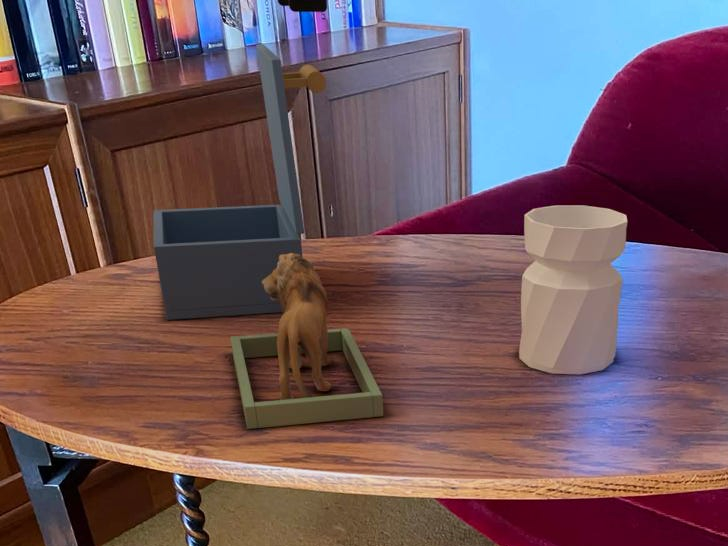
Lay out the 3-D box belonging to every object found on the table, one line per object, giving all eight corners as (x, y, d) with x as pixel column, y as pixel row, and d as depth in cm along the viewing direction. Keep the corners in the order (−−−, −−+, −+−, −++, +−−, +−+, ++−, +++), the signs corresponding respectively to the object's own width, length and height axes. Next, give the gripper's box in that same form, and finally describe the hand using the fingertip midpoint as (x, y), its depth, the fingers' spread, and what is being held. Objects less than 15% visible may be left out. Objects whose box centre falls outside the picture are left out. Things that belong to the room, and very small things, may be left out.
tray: (247, 429, 74) (244, 407, 72) (232, 356, 86) (230, 336, 85) (383, 416, 76) (382, 394, 75) (349, 347, 89) (348, 327, 88)
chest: (166, 320, 94) (153, 246, 90) (164, 276, 107) (153, 210, 103) (307, 310, 97) (301, 239, 93) (289, 269, 110) (283, 204, 106)
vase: (551, 381, 83) (560, 233, 75) (501, 349, 89) (505, 210, 82) (634, 365, 86) (650, 222, 79) (580, 336, 92) (590, 201, 85)
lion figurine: (269, 352, 87) (257, 249, 82) (328, 348, 88) (319, 246, 83) (281, 415, 76) (267, 299, 70) (348, 410, 77) (340, 295, 72)
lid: (271, 59, 84) (330, 55, 85) (256, 44, 97) (307, 41, 98) (296, 234, 93) (349, 228, 94) (279, 200, 105) (326, 195, 106)
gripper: (227, -235, 83) (251, 3, 93) (241, -270, 69) (268, 14, 79) (314, -230, 84) (329, 4, 94) (345, -263, 71) (358, 14, 81)
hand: (301, 8), depth 87 cm, fingers open, 9 cm apart
